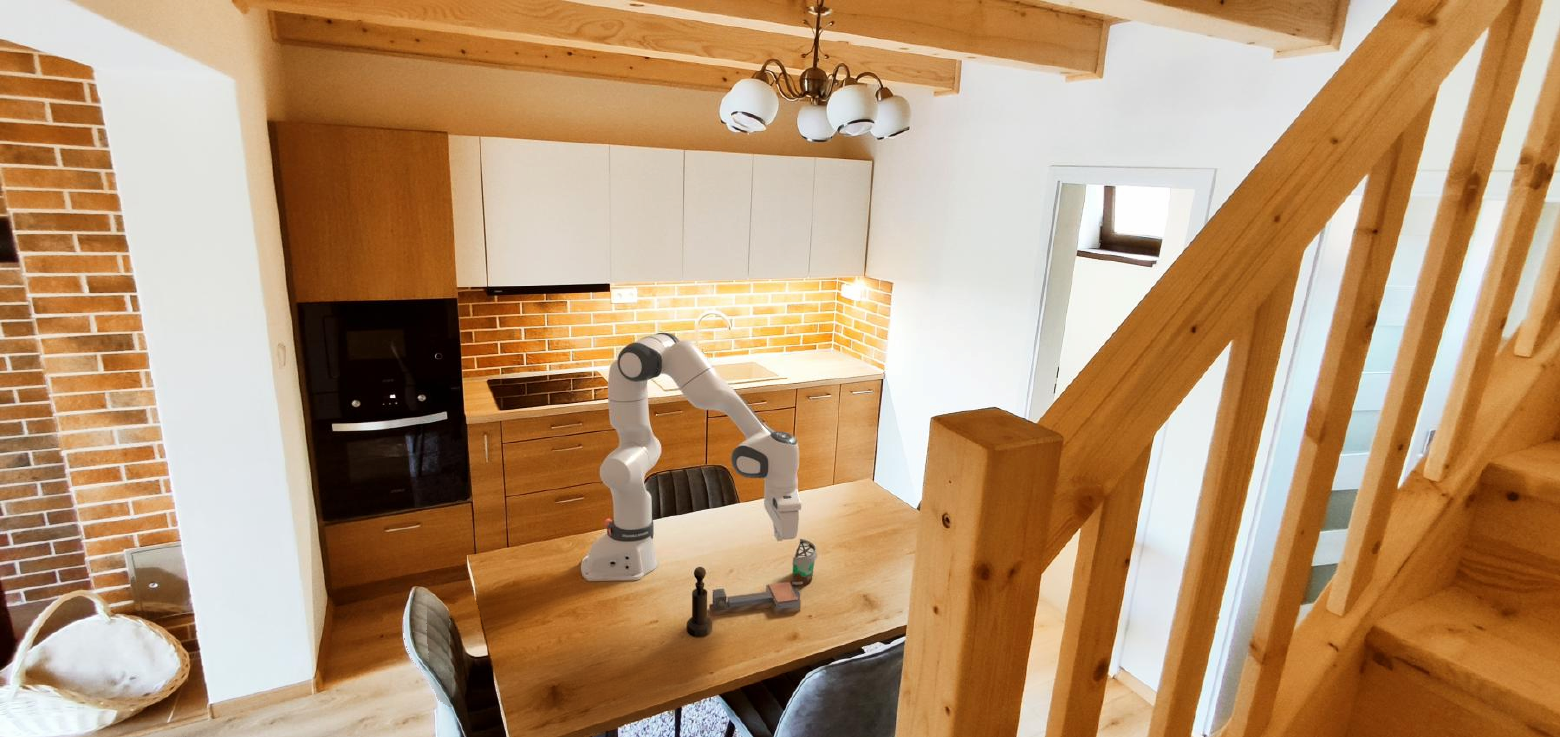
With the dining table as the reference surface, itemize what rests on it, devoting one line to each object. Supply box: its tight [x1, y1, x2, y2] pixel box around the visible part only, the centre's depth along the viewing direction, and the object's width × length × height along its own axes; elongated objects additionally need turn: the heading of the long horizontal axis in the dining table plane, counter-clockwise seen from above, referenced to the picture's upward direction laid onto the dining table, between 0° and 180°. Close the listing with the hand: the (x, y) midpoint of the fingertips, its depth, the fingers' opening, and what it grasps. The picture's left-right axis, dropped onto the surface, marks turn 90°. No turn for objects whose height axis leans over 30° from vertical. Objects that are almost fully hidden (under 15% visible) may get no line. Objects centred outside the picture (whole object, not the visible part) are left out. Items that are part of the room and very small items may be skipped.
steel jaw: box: [727, 581, 802, 609], centre depth 203 cm, size 20×10×2 cm, turn 107°
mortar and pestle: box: [686, 566, 713, 638], centre depth 189 cm, size 7×6×18 cm
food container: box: [791, 538, 818, 588], centre depth 216 cm, size 12×6×10 cm, turn 168°
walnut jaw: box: [708, 588, 801, 616], centre depth 202 cm, size 25×10×6 cm, turn 106°
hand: (778, 538), depth 200 cm, fingers closed
